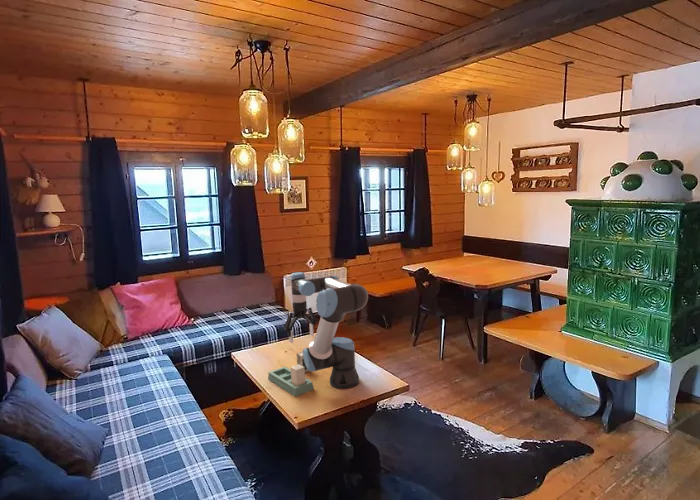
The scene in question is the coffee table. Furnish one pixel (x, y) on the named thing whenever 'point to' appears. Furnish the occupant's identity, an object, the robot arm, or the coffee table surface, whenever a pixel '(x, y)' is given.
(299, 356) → the block
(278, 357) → the coffee table surface
